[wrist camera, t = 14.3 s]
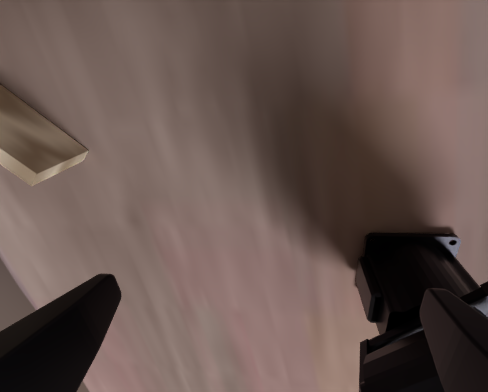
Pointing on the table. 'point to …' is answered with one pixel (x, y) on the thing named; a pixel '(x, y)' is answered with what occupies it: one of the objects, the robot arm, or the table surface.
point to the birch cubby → (33, 142)
